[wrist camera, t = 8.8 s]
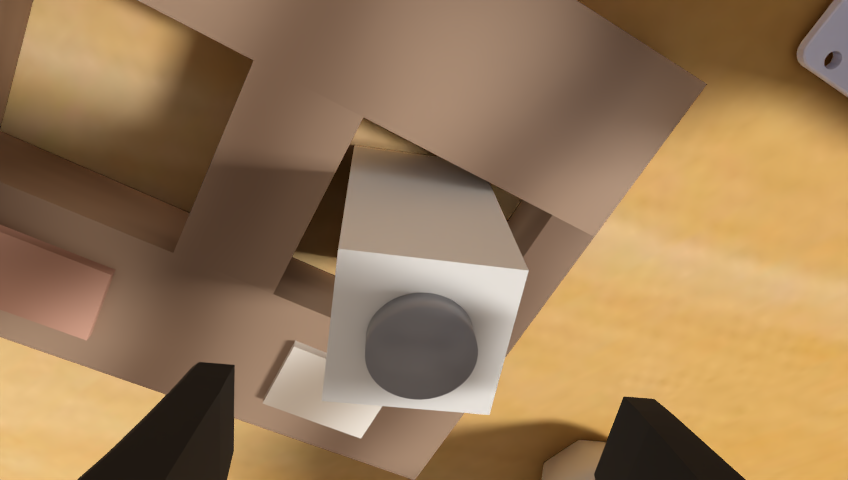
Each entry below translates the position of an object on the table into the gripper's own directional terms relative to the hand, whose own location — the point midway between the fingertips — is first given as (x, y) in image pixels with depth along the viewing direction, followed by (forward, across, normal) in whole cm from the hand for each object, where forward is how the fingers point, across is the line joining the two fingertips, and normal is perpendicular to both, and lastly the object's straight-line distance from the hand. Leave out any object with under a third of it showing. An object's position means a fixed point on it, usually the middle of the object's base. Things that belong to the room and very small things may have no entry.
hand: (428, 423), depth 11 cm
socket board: (+9, +4, -1) cm, 10 cm away
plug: (+9, 0, 0) cm, 9 cm away
